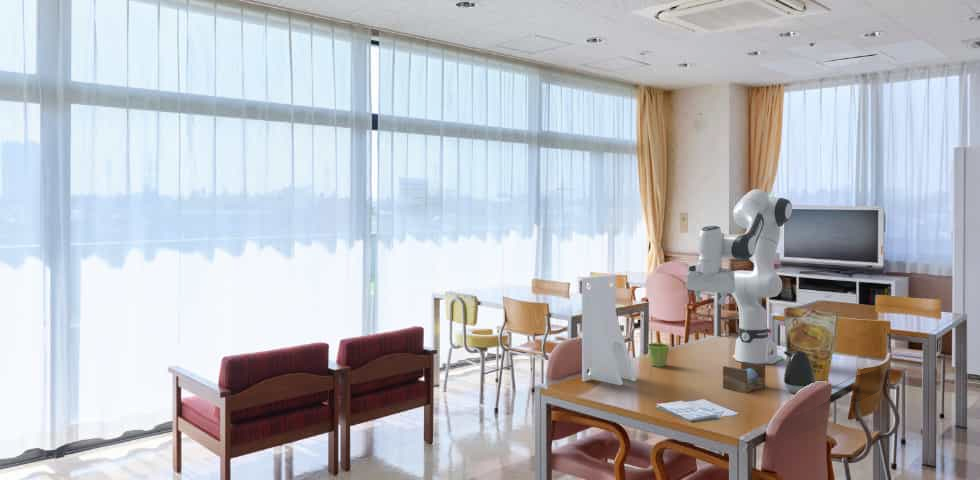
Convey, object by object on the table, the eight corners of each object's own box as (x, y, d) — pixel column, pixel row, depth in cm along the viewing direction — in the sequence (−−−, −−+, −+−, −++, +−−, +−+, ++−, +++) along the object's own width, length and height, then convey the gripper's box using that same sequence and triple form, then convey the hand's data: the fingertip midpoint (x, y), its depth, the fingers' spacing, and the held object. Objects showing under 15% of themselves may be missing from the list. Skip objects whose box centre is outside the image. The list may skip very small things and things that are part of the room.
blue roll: (744, 380, 268) (745, 366, 268) (757, 384, 264) (758, 370, 263) (730, 384, 262) (731, 370, 262) (743, 388, 258) (745, 374, 257)
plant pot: (668, 363, 306) (668, 343, 306) (671, 368, 296) (671, 347, 296) (646, 363, 307) (646, 343, 306) (648, 367, 297) (648, 347, 297)
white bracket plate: (612, 387, 265) (612, 280, 263) (582, 380, 275) (581, 277, 274) (643, 378, 278) (643, 276, 277) (613, 372, 289) (613, 274, 287)
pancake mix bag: (787, 377, 279) (787, 305, 278) (837, 385, 265) (838, 310, 264) (779, 380, 274) (779, 307, 273) (830, 388, 260) (831, 312, 259)
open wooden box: (742, 382, 271) (743, 361, 271) (765, 386, 264) (765, 365, 264) (722, 388, 262) (722, 366, 262) (745, 392, 255) (745, 370, 255)
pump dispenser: (788, 387, 262) (788, 346, 261) (818, 392, 255) (818, 349, 255) (779, 393, 254) (779, 350, 254) (810, 397, 248) (810, 354, 247)
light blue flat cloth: (655, 408, 238) (655, 402, 238) (705, 402, 245) (705, 396, 245) (690, 424, 220) (690, 417, 220) (743, 417, 227) (743, 410, 227)
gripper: (738, 268, 273) (738, 304, 273) (692, 266, 288) (692, 300, 289) (729, 269, 269) (729, 306, 269) (683, 266, 284) (683, 301, 285)
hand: (710, 303), depth 279 cm, fingers open, 8 cm apart
